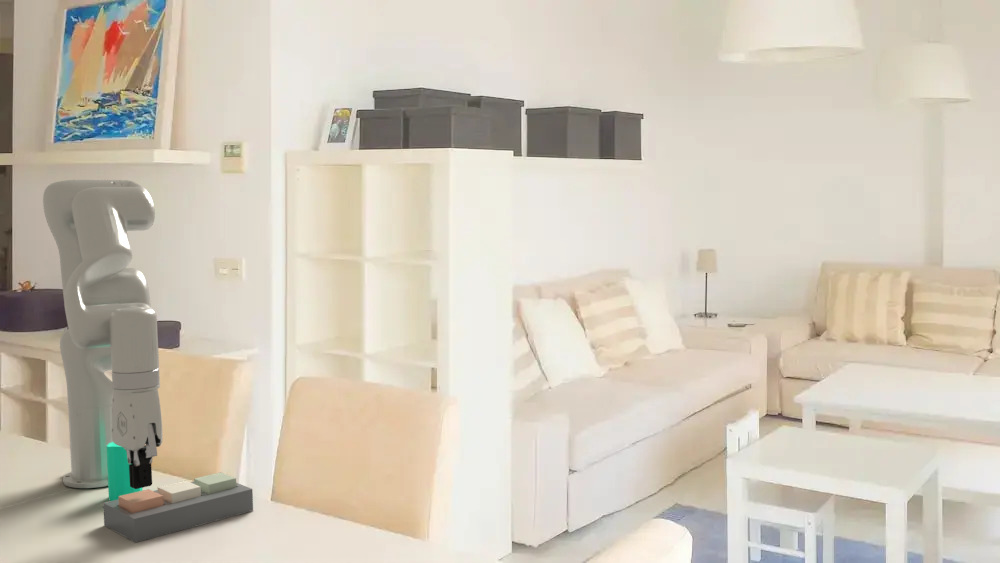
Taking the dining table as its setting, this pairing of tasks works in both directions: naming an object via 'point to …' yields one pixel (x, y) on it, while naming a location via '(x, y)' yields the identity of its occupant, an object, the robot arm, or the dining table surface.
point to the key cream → (179, 491)
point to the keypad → (177, 513)
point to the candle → (118, 472)
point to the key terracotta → (140, 501)
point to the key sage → (215, 483)
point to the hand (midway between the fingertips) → (141, 486)
